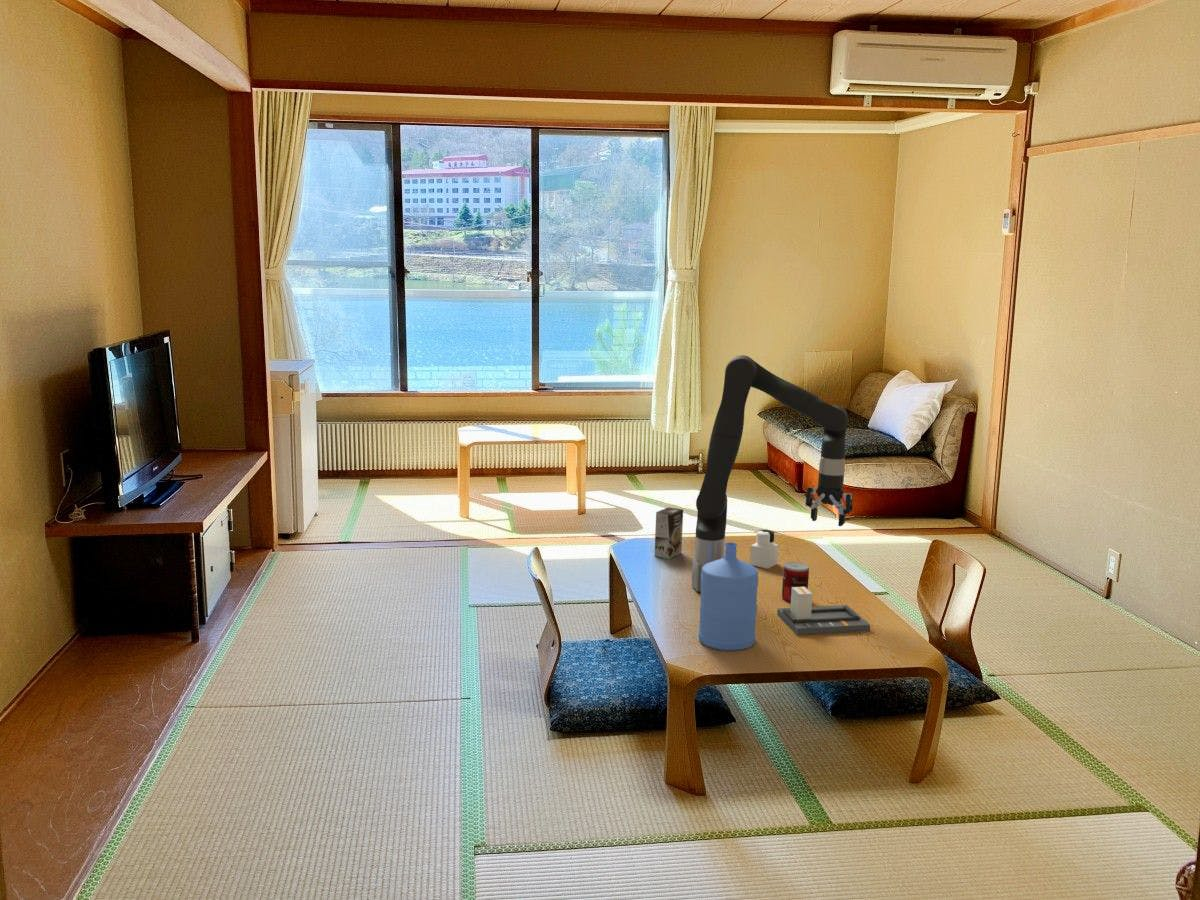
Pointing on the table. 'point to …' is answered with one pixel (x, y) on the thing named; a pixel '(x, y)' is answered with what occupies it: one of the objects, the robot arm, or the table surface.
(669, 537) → the coffee box
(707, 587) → the water jug
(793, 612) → the block
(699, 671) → the table surface
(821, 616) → the console
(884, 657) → the table surface
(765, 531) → the medicine bottle
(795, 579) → the canned food
